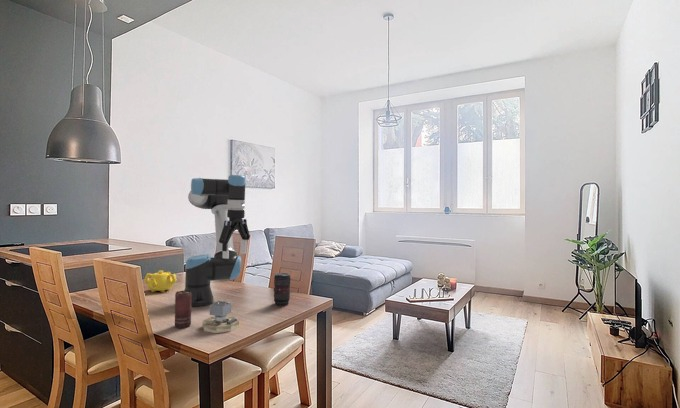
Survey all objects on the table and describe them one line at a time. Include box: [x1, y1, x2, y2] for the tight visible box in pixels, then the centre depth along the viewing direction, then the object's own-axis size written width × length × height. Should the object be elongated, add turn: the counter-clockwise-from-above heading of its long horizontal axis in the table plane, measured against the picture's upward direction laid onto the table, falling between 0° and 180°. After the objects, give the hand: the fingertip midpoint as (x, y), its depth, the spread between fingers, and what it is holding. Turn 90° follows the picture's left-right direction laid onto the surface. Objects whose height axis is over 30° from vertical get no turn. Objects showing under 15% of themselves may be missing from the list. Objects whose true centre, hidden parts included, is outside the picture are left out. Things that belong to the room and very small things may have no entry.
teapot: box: [143, 270, 178, 293], centre depth 201 cm, size 20×18×11 cm
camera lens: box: [273, 272, 292, 307], centre depth 181 cm, size 8×8×15 cm
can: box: [174, 290, 192, 329], centre depth 147 cm, size 6×6×14 cm
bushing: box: [209, 300, 232, 324], centre depth 147 cm, size 6×6×9 cm
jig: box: [201, 314, 240, 334], centre depth 147 cm, size 13×13×3 cm
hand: (234, 255), depth 164 cm, fingers open, 13 cm apart
